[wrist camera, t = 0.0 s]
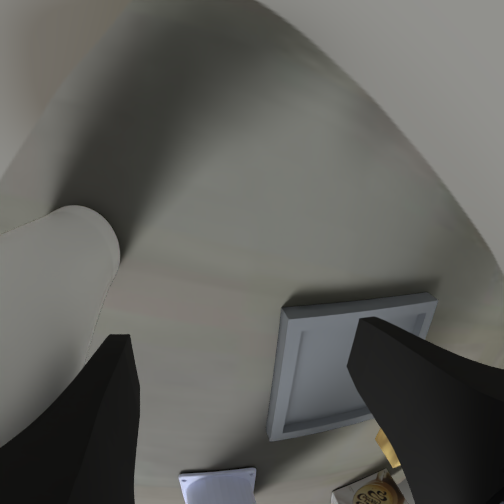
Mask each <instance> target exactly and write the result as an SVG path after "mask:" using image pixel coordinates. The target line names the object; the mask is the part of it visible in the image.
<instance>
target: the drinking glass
mask: <svg viewBox="0 0 504 504" xmlns="http://www.w3.org/2000/svg"><path fill="white" fill-rule="evenodd" d="M119 264H120V247H119V242H118V239H117V236H116V234H115V232H114V230H113V228H112V227H111V225H110V224H109V223H108V221H107V220H106V219H105V218H104V217H103V216H101V215H100V214H99V213H97V212H96V211H94V210H92V209H90V208H87V207H84V206H79V205H69V206H64V207H61V208H58V209H56V210H54V211H52V212H51V213H49V214H47V215H45V216H43V217H40V218H38V219H36V220H33V221H31V222H28V223H26V224H23V225H21V226H18V227H16V228H14V229H11V230H9V231H7V232H4V233H2V234H0V448H1V447H2V446H3V445H5V444H6V443H7V442H9V441H10V440H11V439H12V438H14V437H15V436H16V435H18V434H19V433H20V432H22V431H23V430H24V429H25V428H27V427H28V426H29V425H30V424H31V423H32V422H33V421H35V420H36V419H37V418H38V417H39V416H40V415H41V414H42V413H43V412H44V411H45V410H46V409H47V408H48V407H49V406H50V405H51V404H52V403H53V402H54V401H55V400H56V399H57V398H58V396H59V395H60V394H61V393H62V392H63V391H64V390H65V389H66V388H67V386H68V385H69V384H70V383H71V382H72V381H73V380H74V378H75V377H76V376H77V375H78V373H79V372H80V371H81V370H82V368H83V367H84V365H85V361H86V358H87V354H88V351H89V347H90V344H91V340H92V337H93V334H94V331H95V327H96V324H97V321H98V318H99V315H100V312H101V309H102V306H103V304H104V301H105V298H106V295H107V293H108V290H109V287H110V286H111V284H112V282H113V280H114V278H115V276H116V274H117V271H118V268H119Z"/></svg>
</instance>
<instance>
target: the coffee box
mask: <svg viewBox="0 0 504 504" xmlns="http://www.w3.org/2000/svg"><path fill="white" fill-rule="evenodd" d="M331 504H408V502H407V501H406V499H405V498H404V496H403V494H402V493H401V491H400V490H399V488H398V486H397V485H396V483H395V481H394V480H393V478H392V477H391V475H390V473H389V472H388V470H387V468H385V469H383V470H381V471H379V472H377V473H375V474H373V475H371V476H369V477H366V478H364V479H362V480H360V481H357V482H355V483H353V484H350V485H348V486H345V487H343V488H340V489H338V490H335V491H333V492H332V497H331Z"/></svg>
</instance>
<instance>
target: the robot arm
mask: <svg viewBox="0 0 504 504" xmlns="http://www.w3.org/2000/svg"><path fill="white" fill-rule="evenodd" d="M346 367H347V369H348V371H349V374H350V376H351V378H352V381H353V383H354V385H355V387H356V389H357V391H358V393H359V394H360V396H361V398H362V399H363V401H364V402H365V404H366V406H367V407H368V409H369V410H370V412H371V413H372V415H373V417H374V418H375V420H376V421H377V423H378V424H379V426H380V427H381V429H382V430H383V432H384V434H385V435H386V437H387V438H388V440H389V442H390V444H391V445H392V447H393V449H394V451H395V454H396V456H397V458H398V460H399V462H400V464H401V467H402V469H403V471H404V474H405V476H406V479H407V481H408V484H409V486H410V489H411V492H412V495H413V498H414V501H415V504H504V370H503V369H499V368H495V367H491V366H488V365H484V364H481V363H478V362H475V361H472V360H470V359H467V358H464V357H462V356H459V355H457V354H454V353H452V352H450V351H447V350H445V349H443V348H441V347H439V346H436V345H434V344H432V343H430V342H428V341H426V340H424V339H422V338H420V337H418V336H416V335H414V334H412V333H410V332H408V331H406V330H404V329H402V328H400V327H398V326H396V325H394V324H392V323H390V322H387V321H385V320H383V319H380V318H378V317H375V316H373V317H366V318H359V322H358V326H357V329H356V333H355V337H354V341H353V345H352V348H351V352H350V356H349V359H348V363H347V366H346ZM139 418H140V384H139V380H138V375H137V370H136V365H135V360H134V355H133V349H132V344H131V338H130V334H110V335H109V336H108V337H107V338H106V339H105V340H104V342H103V343H102V344H101V345H100V347H99V348H98V349H97V351H96V352H95V353H94V355H93V356H92V357H91V358H90V360H89V361H88V362H87V364H86V365H85V366H84V367H83V368H82V370H81V371H80V372H79V373H78V375H77V376H76V377H75V378H74V380H73V381H72V382H71V383H70V384H69V385H68V386H67V388H66V389H65V390H64V391H63V392H62V393H61V394H60V395H59V396H58V398H57V399H56V400H55V401H54V402H53V403H52V404H51V405H50V406H49V407H48V408H47V409H46V410H45V411H44V412H43V413H42V414H41V415H40V416H39V417H38V418H37V419H36V420H35V421H33V422H32V423H31V424H30V425H29V426H28V427H27V428H25V429H24V430H23V431H22V432H20V433H19V434H18V435H16V436H15V437H14V438H12V439H11V440H10V441H9V442H7V443H6V444H5V445H3V446H2V447H1V448H0V504H135V501H134V470H135V458H136V447H137V437H138V428H139ZM255 478H256V468H253V467H252V468H244V469H236V470H227V471H216V472H204V473H187V474H180V475H179V481H180V485H181V488H182V492H183V496H184V499H185V503H186V504H256V501H255V497H254V494H253V491H254V484H255Z"/></svg>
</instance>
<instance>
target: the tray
mask: <svg viewBox="0 0 504 504" xmlns="http://www.w3.org/2000/svg"><path fill="white" fill-rule="evenodd" d="M437 303H438V300H437V299H436V298H435V297H433V296H432V295H431V294H429V293H428V292H425V293H417V294H410V295H402V296H394V297H386V298H377V299H368V300H359V301H350V302H340V303H329V304H318V305H307V306H294V307H282V309H281V317H280V326H279V334H278V342H277V350H276V358H275V366H274V374H273V381H272V389H271V396H270V403H269V410H268V417H267V424H266V432H267V435H268V438H269V441H270V442H272V441H278V440H284V439H290V438H295V437H300V436H305V435H310V434H315V433H319V432H324V431H328V430H332V429H336V428H340V427H344V426H348V425H352V424H356V423H359V422H363V421H366V420H370V419H373V418H374V417H373V415H372V413H371V412H370V410H369V409H368V407H367V406H366V404H365V402H364V401H363V399H362V398H361V396H360V394H359V393H358V391H357V389H356V387H355V385H354V383H353V381H352V378H351V376H350V374H349V371H348V369H347V367H346V366H347V363H348V359H349V356H350V352H351V348H352V345H353V341H354V337H355V333H356V329H357V326H358V322H359V318H366V317H373V316H375V317H378V318H380V319H383V320H385V321H387V322H390V323H392V324H394V325H396V326H398V327H400V328H402V329H404V330H406V331H408V332H410V333H412V334H414V335H416V336H418V337H420V338H422V339H424V340H425V338H426V335H427V333H428V330H429V327H430V324H431V321H432V318H433V315H434V312H435V309H436V306H437Z"/></svg>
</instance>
